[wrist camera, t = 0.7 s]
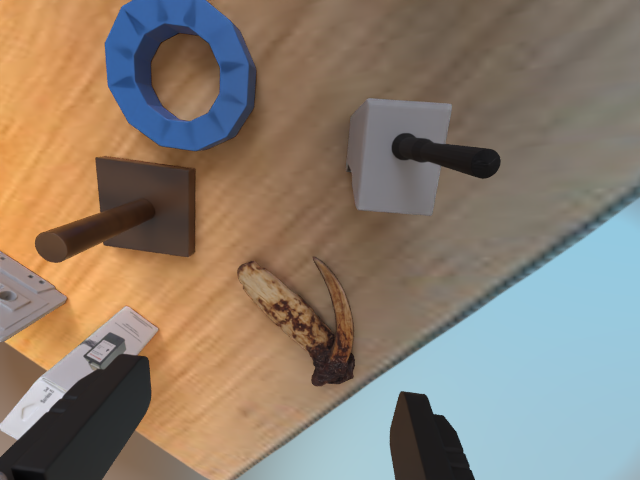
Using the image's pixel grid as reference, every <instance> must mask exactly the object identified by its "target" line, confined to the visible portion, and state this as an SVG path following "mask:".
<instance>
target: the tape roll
mask: <svg viewBox="0 0 640 480" xmlns="http://www.w3.org/2000/svg"><path fill="white" fill-rule="evenodd" d="M178 33H184V34H191V35H198V36H200V37H201V38H203V39H204V40H205V41H206V42H208V43H209V45H210V47H211V49H212V51H213V53H214V56H215V58H216V60H217V62H218V64H219V67H220V94H219V95H218V97H217V99H216V100H215V102H214V104H213V105H212V107H211V109H210V110H209V112H208V113H207V114H205V115H203V116H200V117H198V118H196V119H194V120H192V121H184V120H179V119H178V118H177V117H175V116H174V115H173V114H171V113H170V112H169V111H167V110H166V109H165V108H163V107H162V105H161V103H160V101H159V99H158V97H157V96H156V94H155V92H154V90H153V88H152V86H151V60H152V58H153V56H154V54H155V52H156V50H157V48H158V47H159V45H160V43H161V42H163V41H164V40H166V39H168V38H170V37H172V36H174V35H176V34H178ZM105 54H106V67H107V80H108V87H109V89H110V90H111V92H112V94H113V96H114V98H115V99H116V101H117V103H118V105H119V107H120V108H121V110H122V112H123V114H124V116H125V117H126V119H127V121H128V123H129V124H131V125H132V126H134V127H135V128H136V129H138V130H139V131H140V132H142V133H143V134H144V135H146V136H147V137H149V138H150V139H151V140H153V141H154V142H155V143H157V144H158V145H160V146H163V147H170V148H177V149H184V150H191V151H200V150H207V149H209V148H211V147H214V146H216V145H218V144H220V143H222V142H225V141H227V140H229V139H231V138H233V137H235V136H236V135H237V133H238V132H239V130H240V129H241V127H242V126H243V124H244V122H245V121H246V119H247V118H248V116H249V115H250V113H251V112H252V110H253V108H254V99H255V83H256V67H255V65H254V62H253V60H252V58H251V55H250V53H249V51H248V48H247V46H246V44H245V41H244V39H243V36H242V34H241V32H240V30H239V29H238V28H237V27H236V26H235V25H234V24H233V23H232V22H231V21H230V20H229V19H228V18H226V17H225V16H224V15H223V14H222V13H220V12H219V11H218V10H217V9H216V8H214V7H213V6H212V5H211V4H210V3H208V2H207V1H206V0H132V1H130V2H129V3H127V4H125V5H123V6H122V7H121V9H120V12H119V14H118V16H117V18H116V20H115V22H114V25H113V27H112V29H111V31H110V33H109V35H108V38H107V40H106V42H105Z"/></svg>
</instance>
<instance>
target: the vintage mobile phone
mask: <svg viewBox="0 0 640 480" xmlns="http://www.w3.org/2000/svg"><path fill="white" fill-rule="evenodd" d="M451 111H452V104H446V103H431V102H417V101H402V100H387V99H373V98H368V99H367V100H366V101H365V102H364V103H363V104H362V105H361V106H360V107H359V108H358V109H357V110H356V111H355V112H354V113H353V114H352V115H351V119H350V129H349V140H348V151H347V162H346V172H352V187H353V193H354V199H355V205H356V208H357V209H358V210H362V211H375V212H388V213H401V214H414V215H428V216H431V215H432V213H433V208H434V203H435V197H436V192H437V186H438V181H439V176H440V170H441V166H443V167H446V168H450V169H453V170H456V171H459V172H462V173H465V174H468V175H471V176H475V177H478V178H482V179H483V178H488V177H491V176H492V175H494V174H495V173H496V172H497V171H498V169H499V167H500V161H501V160H500V156H499V155H498V153H497V152H496V151H494V150H492V149H486V148H477V147H468V146H459V145H450V144H445V143H446V138H447V133H448V127H449V122H450V116H451Z"/></svg>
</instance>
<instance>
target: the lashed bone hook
mask: <svg viewBox="0 0 640 480" xmlns="http://www.w3.org/2000/svg"><path fill="white" fill-rule="evenodd" d="M313 260H314V262H315V264H316V266H317V267H318V269H319V271H320V272H321V274H322V276H323V278H324V281H325V283H326V285H327V287H328V290H329V293H330V296H331V299H332V303H333V307H334V312H335V317H336V336H335V335H334V334H333V333H332V331H331V330H330V329H329V328H328V327H327V326H326V325H325V324H323V322H322V321H321V320H320V318H319V317H318V316H317V315H316V314H315V313H314V311H313V309H312V308H310V307H309V306H308V305H307V304H306V302H305V301H304V300H303V299H302V298H301V297H300V296H299V295H297V294H295V293H293V292H292V291H291V290H290V289H289V288H287V287H286V286H285V285H284V284H283V283H282V282H281V281H280V280H279V279H278V278H276V277H275V276H274V275H273V274H271V273H270V272H269V271H268V270H267V269H265V268H263V269H262V268H261V267H260V266H259V265H258V264H257V262H256V261H250V262H248V263H245V264H242V265H240V267H239V268H238V272H237V273H238V279H239V281H240V283H241V284H242V285H243V289H244V290H245V292H246V293H247V294H248V296H249V297H250V298H251V299H252V300H253V301H254V302H255V303H256V304H257V305H258V306H259V307H260V308H261V309H262V311H263V312H264V313H265V314H266V315H267V316H268V317H269V318H270V319H271V320H272V321H273V322H274V323H275V324H276V325H278V326H280V327H281V329H282V330H283V331H284V332H285V333H286V334H287V335H288V336H289V337H291V338H292V339H293V340H294V341H295V342H297V343H298V344H299V345H300V346H302V347H303V349H304V350H306V351H307V352H308V353H309V354H310V356H311V357H312V359H313V364H314V366H315V370H314V373H313V375H312V380H311V381H312V384H313V385H314V386H323V385H324V384H326V383H328V384H341V383H343V382H345V381H347V380H349V379H352V378H353V377H354V376H353V370H354V367H355V359H354V356H353V354H352V353H351V350H352V345H353V337H354V326H353V318H352V314H351V310H350V306H349V303H348V300H347V297H346V294H345V292H344V290H343V288H342V286H341V284H340V283H339V281H338V279H337V278H336V276H335V275H334V274H333V273H332V271H331V270H330V269H329V268H328V267H327V266H326V265H325V264H324V263H323V262H322V261H320V260H319V259H317V258H316V257H313Z"/></svg>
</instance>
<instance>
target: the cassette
mask: <svg viewBox="0 0 640 480" xmlns="http://www.w3.org/2000/svg"><path fill="white" fill-rule="evenodd" d="M66 299H67V297H66V296H65V295H63V294H62V293H60V292H58V291H57V290H56V289H55V286H53V285H52V284H50V283H49V282H47V281H46V280H44V279H42V278H41V277H39V276H38V275H36V274H35V273H33V272H32V271H30V270H29V269H27V268H25V267H24V266H22V265H21V264H19V263H18V262H16V261H15V260H13V259H12V258H10V257H8V256H7V255H5V254H4V253H2V252H1V251H0V342H4V341H6V340H8V339H9V338H11V337H12V336H14V335H16V334H17V333H19V332H20V331H22V330H23V329H25V328H27V327H28V326H30V325H31V324H33V323H34V322H36V321H38V320H39V319H41V318H42V317H44V316H45V315H47V314H49V313H50V312H52V311H53V310H55V309H57V308H58V307H60V306H61V305H63V304H64V303H65V302H66Z"/></svg>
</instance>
